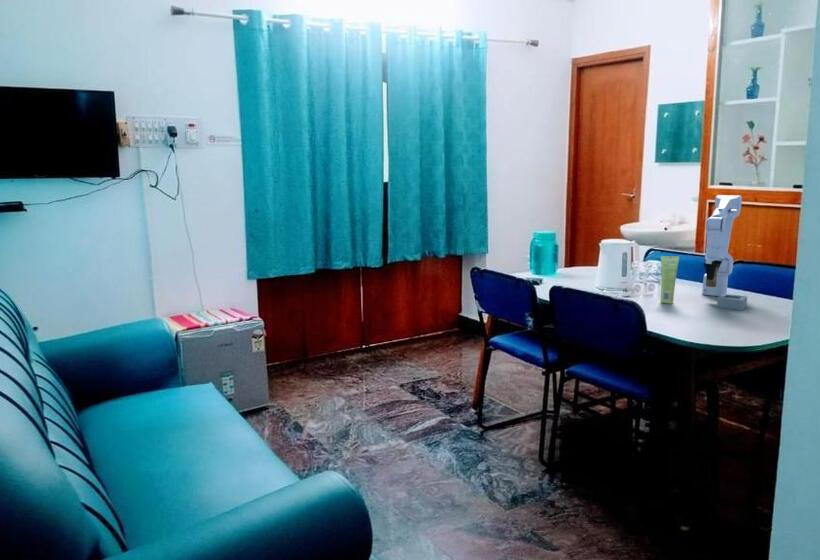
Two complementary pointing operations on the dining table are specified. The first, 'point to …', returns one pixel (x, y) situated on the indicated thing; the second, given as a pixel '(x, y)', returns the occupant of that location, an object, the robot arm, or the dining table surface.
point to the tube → (668, 277)
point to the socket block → (732, 301)
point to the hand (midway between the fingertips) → (711, 278)
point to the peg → (712, 282)
